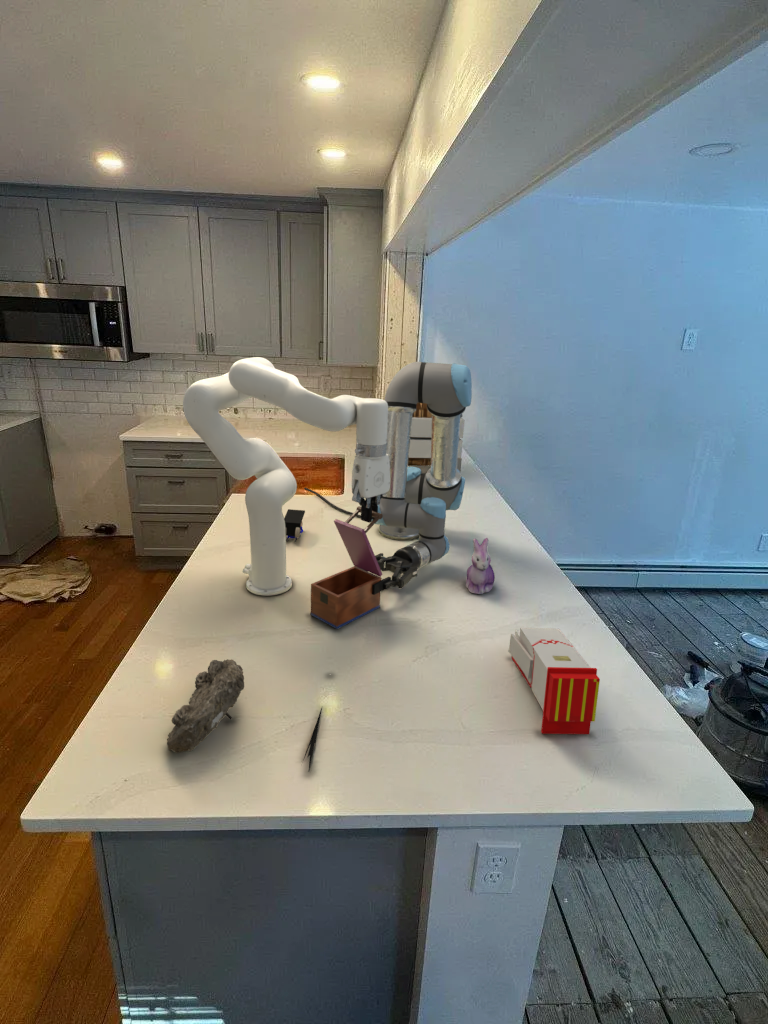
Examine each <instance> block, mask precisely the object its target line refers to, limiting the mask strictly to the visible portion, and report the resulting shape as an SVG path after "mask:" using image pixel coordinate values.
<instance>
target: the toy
mask: <svg viewBox="0 0 768 1024" xmlns="http://www.w3.org/2000/svg"><path fill="white" fill-rule="evenodd" d="M508 653H509V654H510V656H511V660H512V661H513V664H515V666H516V667H517V669H518V670H519V672H520V673H521V675H522V677H523V678H524V680H525V681H526V683H527V684H528V686H529V688H530V689H531V691H532V694H533V695H534V697H535V699H536V700H537V702H538V704H539V706H540V708H541V710H542V720H541V730H540V733H541V735H547V734H548V735H590V731H591V723H592V722H593V723H595V722H596V713H597V706H598V700H599V699H598V698H599V697H598V696H599V689H600V682H601V681H600V680H601V679H600V677H599V675H598V668H597V667H591V666H590V665H589V664H588V663H587V661H586V660H585V659H584V657H583V656H582V655H581V654H580V652H579V651H578V649H576V647H574V645H573V644H572V643H571V642H570V640H569V639H568V637H566V636H565V634H564V633H563V631H561V629H560V628H553V627H552V628H551V627H550V628H549V627H547V628H546V627H520V628H519V629H515V631H514V633H510V639H509V646H508Z"/></svg>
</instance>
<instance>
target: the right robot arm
mask: <svg viewBox="0 0 768 1024" xmlns="http://www.w3.org/2000/svg"><path fill="white" fill-rule="evenodd" d="M471 373H472V372H471V368H470V367H469V366H467V365H465V364H457V363H455V362H453V363H441V362H424V361H413V362H410V363H408V364H406V365H404V366H403V367H402V368H400V369H399V370H398V371H397V372H396V373H395V374H394V376H393V377H392V379H391V381H390V382H389V384H388V386H387V389H386V391H385V395H384V400H385V401H386V402H387V404H388V426H387V451H386V454H388V457H389V463H390V489H389V491H388V492H386V493H385V494H384V495H383V496H382V497H381V499H380V504H379V505H378V513H381V514H382V515H383V517H382V519H379V520H378V521H377V522H376V523H375V524H374V525H378V533H379V534H380V535H381V536H382V537H385V538H387V539H389V540H395V541H410V540H415V539H418V540H416V541H415V542H412V543H410V544H407V545H406V546H404V547H402V548H399V549H397V550H396V551H395V552H394V554H393V555H391V556H384V553H383V552H380V553H378V554H376V555H375V554H374V555H375V557H376V560H377V562H378V565H379V567H380V569H381V572H388V571H389V572H392V573H393V574H392V575H391V576H387V577H385V578H383V579H381V581H379V582H377V583H375V584H373V585H372V594H373V595H375V594H377V593H379V592H383V591H385V590H390V589H392V588H396V587H397V588H398V589H403V588H404V587H405V586H407V584H408V583H409V582H410V581H411V580H412V579H413V578H416V577H417V576H418V570H419V569H421V568H423V567H425V566H427V565H429V564H431V563H434V562H435V561H439V560H440V559H442V558H443V557H445V556H446V555H447V554H448V553H449V551H450V549H451V548H450V547H451V545H450V542H449V541H450V540H449V538H448V537H447V536H446V535H445V528H446V518H447V511H457V510H458V509H460V507H461V504H462V500H463V494H464V490H465V484H466V478H465V477H464V476H462V473H460V471H459V470H458V469H457V459H458V443H459V427H460V415H461V414H462V415H463V414H464V412H465V411H466V408H467V407H470V406H471V405H472V397H473V395H472V394H473V393H472V392H473V391H472V390H473V384H472V383H473V381H472V374H471ZM417 403H426V404H427V409H428V411H429V412H430V413H431V414H432V429H431V465H430V468H428V469H427V471H426V473H423V472H422V469H421V468H420V467H417V466H408V458H409V447H410V436H411V425H412V414H413V413H414V412H415V411H416V408H417ZM303 490H305V491H307V492H309V493H312V494H314V495H315V496H317V497H319V498H320V499H322V500H323V501H324V502H325V503H326V504H328V505H329V506H331V507H332V508H333V509H335V510H338V511H340V512H342V513H345V514H346V515H350V516H351V515H352V514H353V513H354V512H351V511H349V510H346V509H343V508H341V507H339V506H337V505H335V504H333V503H332V502H330V501H329V500H328V499H326V498H325V497H324V496H322V495H321V494H320V493H318V492H316V491H315V490H313V489H310V488H307V487H304V488H303ZM355 517H357V518H360V519H361V514H359V513H358V514H357V515H356V516H355ZM372 521H373V519H372ZM372 521H371V522H372ZM356 567H357V566H356ZM358 568H359V567H358ZM360 569H361V568H360ZM363 570H364V569H363ZM365 571H366V570H365ZM367 572H368V571H367Z"/></svg>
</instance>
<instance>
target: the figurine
mask: <svg viewBox="0 0 768 1024" xmlns="http://www.w3.org/2000/svg"><path fill="white" fill-rule="evenodd" d="M472 544H473V553H472V555H471V559H470V561H471V565H470V566H469V567H468V568H467V570H466V579H465V587H466V589H467V590H468V592H469V593H472V594H476V595H477V594H478V595H483V594H485V593H489V592H490V591H491V590H492V589H493V588H494V587H493V586H494V584H495V579H496V577H495V576H496V575H495V570H494V568H493V566H492V565H491V562H492V559H491V555H490V553H489V550H488V547H489V538H488V537H485V538H484V539H483V541H482V543H481V544H480V543H479V540H478V539H477V538H473V540H472Z"/></svg>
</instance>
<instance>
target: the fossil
mask: <svg viewBox="0 0 768 1024" xmlns="http://www.w3.org/2000/svg"><path fill="white" fill-rule="evenodd" d="M243 670H244V669H243V667H242V665H240V664H237V662H236V661H235V660H234V659H232V658H231V659H227V658H226V659H224V660H223V661H222V660H217V659H212V660H211V661H210V663H209V665H208V666H207V671H201V672H199V673H198V674H197V675H196V676H195V680H194V684H195V685H194V687H195V689H194V690H193V693H192V694H191V697H190V698H189V700H188V704H184V705H182V706H181V707H180V709H177V710H176V711H175V713H174V715H173V716H172V718H171V723H172V724H173V727H172V730H171V731H170V732H168V734H167V738H166V741H167V742H166V745H167V749H168V750H169V751H173V752H174V753H176V754H178V753H182V752H188V751H189V752H192V751H193V750H195V748H196V747H197V746H199V744H200V743H201V742H203V741H204V740H205V739H206V738H207V737H208V736H209V735H210V734H211V733H212V732H214V730H215V729H217V727H218V726H219V724H220V722H221V721H222V720H223V719H224V718H225V716H226V717H227V719H229V720H233V717H232V715H230V714H229V710H230V709H231V708H234V706H235V704H236V703H237V702H238V699H239V697H240V695H241V693H242V691H243V690H245V689H244V688H245V675H244V671H243Z"/></svg>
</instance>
